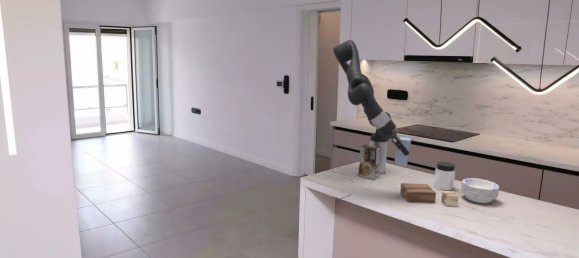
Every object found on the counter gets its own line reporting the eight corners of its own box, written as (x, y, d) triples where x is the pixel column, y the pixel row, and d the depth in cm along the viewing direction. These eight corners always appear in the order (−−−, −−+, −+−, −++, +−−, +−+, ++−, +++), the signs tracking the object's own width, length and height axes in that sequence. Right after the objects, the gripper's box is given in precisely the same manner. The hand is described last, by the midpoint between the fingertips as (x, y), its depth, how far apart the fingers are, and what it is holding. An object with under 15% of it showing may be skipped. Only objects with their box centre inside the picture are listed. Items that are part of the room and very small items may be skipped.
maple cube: (441, 202, 175) (442, 191, 175) (452, 202, 176) (453, 191, 175) (445, 206, 171) (447, 195, 170) (457, 206, 171) (458, 195, 170)
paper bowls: (501, 207, 171) (504, 190, 170) (464, 204, 174) (466, 186, 173) (491, 195, 186) (493, 179, 184) (457, 192, 189) (458, 176, 187)
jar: (447, 191, 189) (450, 167, 187) (431, 187, 195) (433, 163, 193) (455, 188, 195) (458, 164, 193) (439, 183, 201) (442, 160, 199)
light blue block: (394, 162, 182) (398, 136, 180) (405, 163, 181) (409, 138, 179) (395, 165, 178) (399, 139, 175) (406, 167, 177) (410, 140, 174)
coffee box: (379, 176, 209) (381, 146, 207) (374, 179, 204) (377, 148, 201) (362, 173, 214) (364, 144, 211) (357, 176, 209) (360, 146, 206)
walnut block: (400, 193, 186) (400, 183, 185) (426, 194, 186) (427, 184, 185) (407, 202, 174) (408, 192, 173) (434, 203, 174) (436, 193, 173)
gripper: (376, 125, 185) (399, 153, 186) (376, 131, 171) (401, 162, 172) (389, 115, 183) (412, 144, 184) (390, 121, 169) (415, 152, 170)
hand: (406, 152), depth 178 cm, fingers closed on light blue block, 5 cm apart
